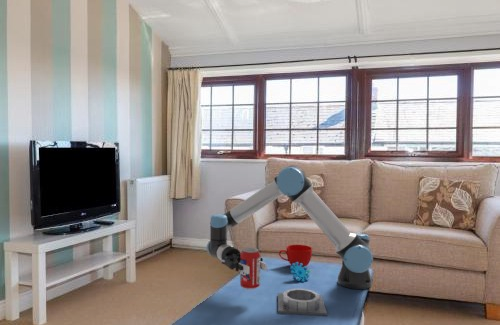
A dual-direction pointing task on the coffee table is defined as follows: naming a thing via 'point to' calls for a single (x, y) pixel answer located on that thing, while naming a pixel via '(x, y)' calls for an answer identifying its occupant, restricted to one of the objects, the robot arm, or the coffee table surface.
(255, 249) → the soda can
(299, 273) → the blue spiky toy
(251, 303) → the coffee table surface
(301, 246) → the ceramic cup
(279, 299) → the housing
